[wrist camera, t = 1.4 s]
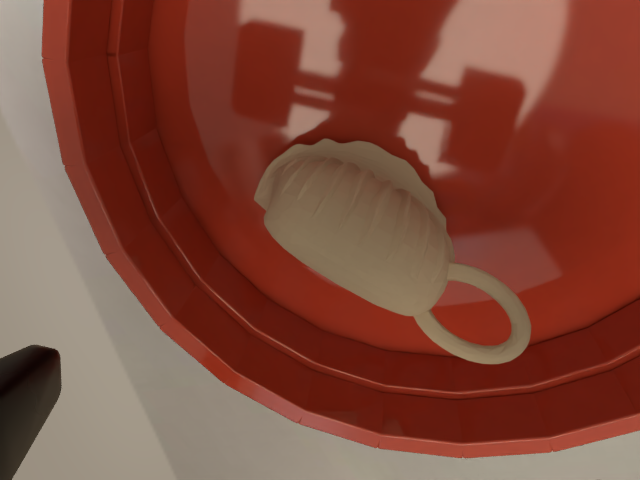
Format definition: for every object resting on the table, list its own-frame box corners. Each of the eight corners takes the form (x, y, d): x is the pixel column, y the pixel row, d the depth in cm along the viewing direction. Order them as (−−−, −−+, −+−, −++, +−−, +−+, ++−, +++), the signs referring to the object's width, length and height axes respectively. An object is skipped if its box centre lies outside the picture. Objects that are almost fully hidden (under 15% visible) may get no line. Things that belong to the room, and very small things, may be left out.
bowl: (792, 334, 19) (903, 429, 15) (236, 391, 23) (204, 477, 19) (943, -570, 10) (1316, -947, 6) (9, -198, 14) (-138, -269, 10)
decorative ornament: (310, 98, 17) (276, 142, 12) (514, 235, 18) (560, 326, 13) (250, 195, 18) (200, 268, 14) (440, 314, 19) (456, 420, 15)
